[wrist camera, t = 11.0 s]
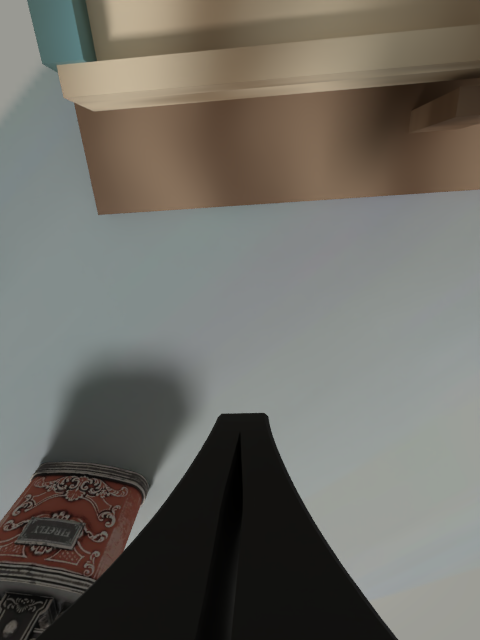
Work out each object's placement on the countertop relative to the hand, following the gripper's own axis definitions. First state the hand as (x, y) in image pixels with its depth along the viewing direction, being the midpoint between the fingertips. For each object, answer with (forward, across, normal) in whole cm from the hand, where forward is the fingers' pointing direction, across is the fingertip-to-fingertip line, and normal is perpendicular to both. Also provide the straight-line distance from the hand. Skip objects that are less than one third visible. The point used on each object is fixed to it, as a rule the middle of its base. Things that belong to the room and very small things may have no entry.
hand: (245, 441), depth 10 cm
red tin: (+10, +12, +12) cm, 19 cm away
